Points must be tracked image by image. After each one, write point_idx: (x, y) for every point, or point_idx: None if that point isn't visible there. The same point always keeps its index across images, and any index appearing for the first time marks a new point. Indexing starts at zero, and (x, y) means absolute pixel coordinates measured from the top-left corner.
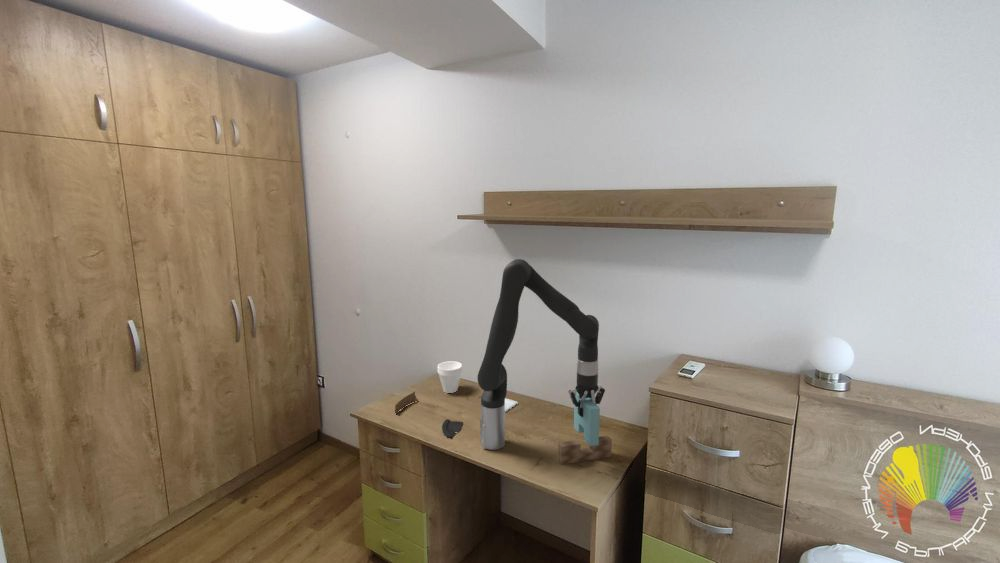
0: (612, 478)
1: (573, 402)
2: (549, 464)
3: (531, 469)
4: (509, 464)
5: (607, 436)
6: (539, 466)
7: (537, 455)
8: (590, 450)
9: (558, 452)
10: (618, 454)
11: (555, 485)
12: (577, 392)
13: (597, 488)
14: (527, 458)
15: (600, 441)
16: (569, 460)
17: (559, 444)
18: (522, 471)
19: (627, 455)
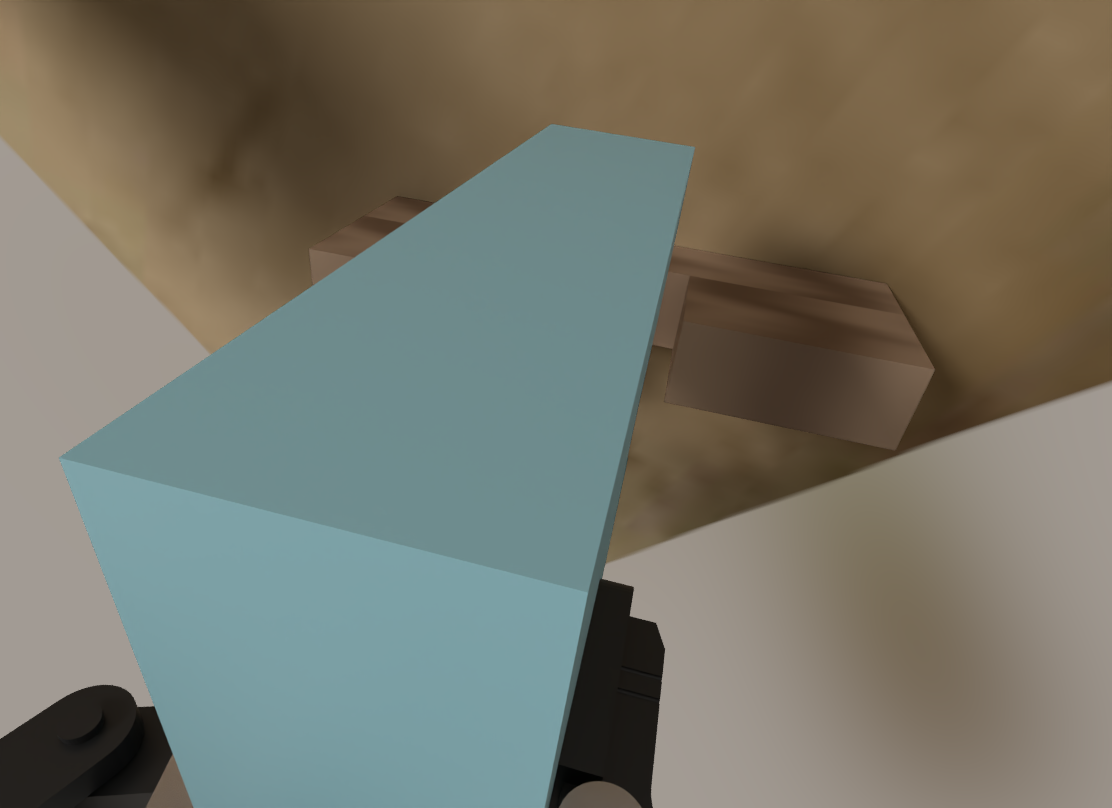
0: (660, 532)
1: (41, 754)
2: (311, 224)
3: (171, 224)
4: (9, 89)
5: (906, 384)
6: (232, 215)
7: (239, 52)
8: (665, 318)
9: (364, 218)
10: (952, 354)
11: None
12: (225, 505)
13: None
14: (149, 63)
15: (748, 418)
16: None
17: (315, 273)
18: (108, 218)
19: (1013, 400)
